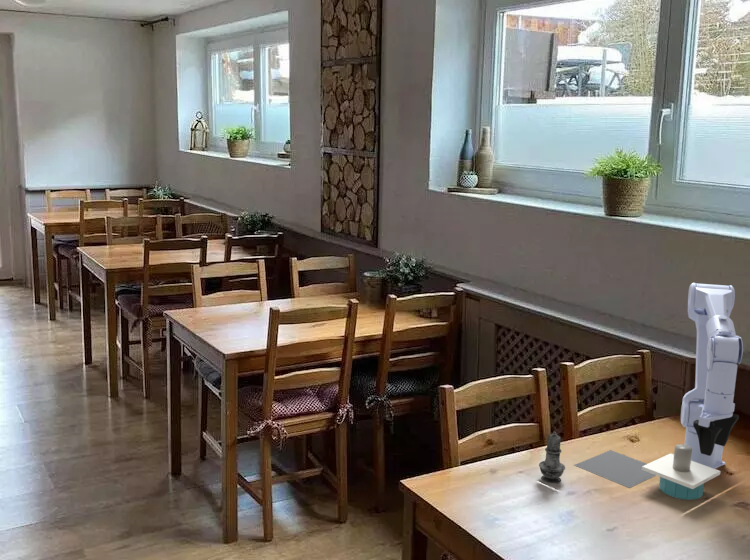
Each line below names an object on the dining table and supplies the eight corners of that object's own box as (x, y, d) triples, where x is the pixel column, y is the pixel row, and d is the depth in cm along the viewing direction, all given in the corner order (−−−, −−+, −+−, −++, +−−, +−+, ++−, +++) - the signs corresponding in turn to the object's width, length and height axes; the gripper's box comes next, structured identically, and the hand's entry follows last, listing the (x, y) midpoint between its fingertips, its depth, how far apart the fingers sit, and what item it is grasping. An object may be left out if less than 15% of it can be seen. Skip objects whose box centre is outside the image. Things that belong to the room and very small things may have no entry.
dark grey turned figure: (564, 487, 178) (568, 437, 175) (537, 484, 179) (541, 434, 177) (563, 476, 183) (567, 427, 181) (537, 473, 185) (541, 424, 182)
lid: (670, 456, 185) (672, 433, 184) (720, 474, 176) (723, 449, 175) (641, 469, 177) (644, 445, 176) (692, 489, 168) (695, 463, 167)
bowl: (672, 479, 184) (674, 460, 183) (709, 493, 177) (712, 474, 176) (651, 489, 178) (653, 470, 177) (688, 504, 171) (691, 485, 170)
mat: (610, 451, 198) (610, 450, 198) (665, 472, 187) (665, 470, 187) (573, 466, 189) (573, 465, 189) (629, 489, 178) (629, 487, 178)
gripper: (714, 378, 180) (708, 435, 183) (687, 393, 170) (680, 452, 172) (746, 386, 175) (739, 444, 178) (720, 401, 165) (713, 463, 168)
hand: (713, 449), depth 175 cm, fingers open, 7 cm apart
